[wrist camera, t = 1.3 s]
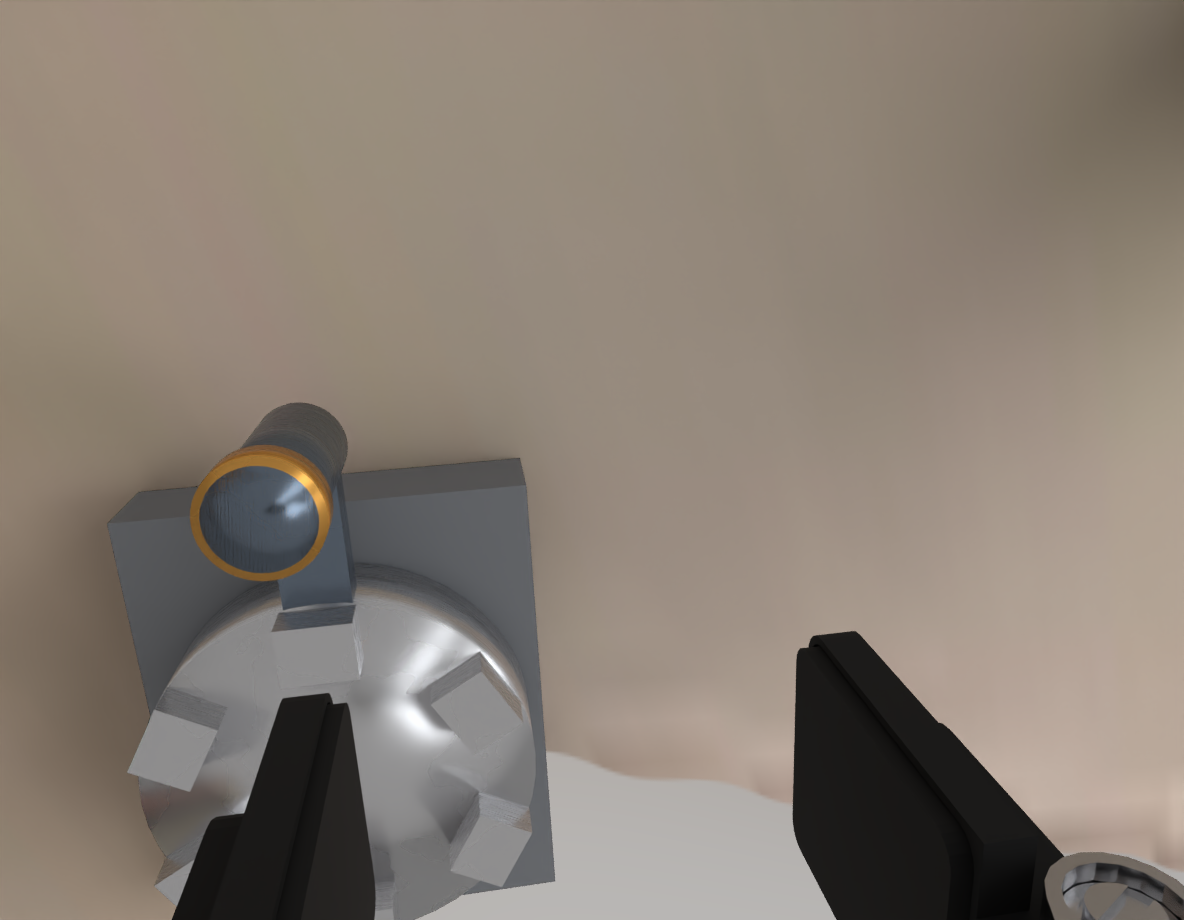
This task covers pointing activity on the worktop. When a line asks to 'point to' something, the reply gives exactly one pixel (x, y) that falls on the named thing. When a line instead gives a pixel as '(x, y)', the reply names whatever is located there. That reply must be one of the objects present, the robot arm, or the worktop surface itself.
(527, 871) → the grey rectangular base plate
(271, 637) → the gold-rimmed tube plate
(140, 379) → the worktop surface
